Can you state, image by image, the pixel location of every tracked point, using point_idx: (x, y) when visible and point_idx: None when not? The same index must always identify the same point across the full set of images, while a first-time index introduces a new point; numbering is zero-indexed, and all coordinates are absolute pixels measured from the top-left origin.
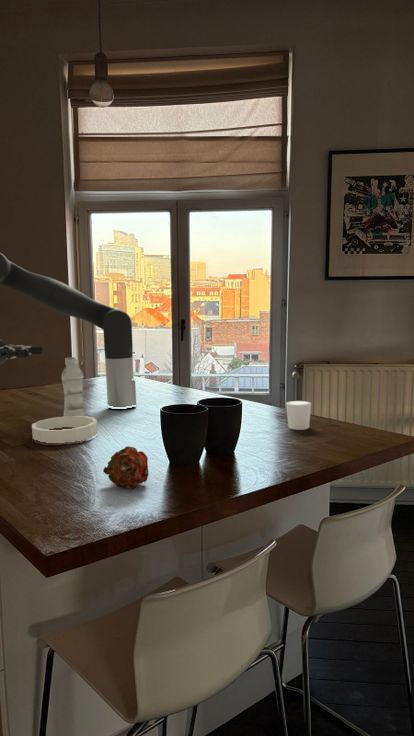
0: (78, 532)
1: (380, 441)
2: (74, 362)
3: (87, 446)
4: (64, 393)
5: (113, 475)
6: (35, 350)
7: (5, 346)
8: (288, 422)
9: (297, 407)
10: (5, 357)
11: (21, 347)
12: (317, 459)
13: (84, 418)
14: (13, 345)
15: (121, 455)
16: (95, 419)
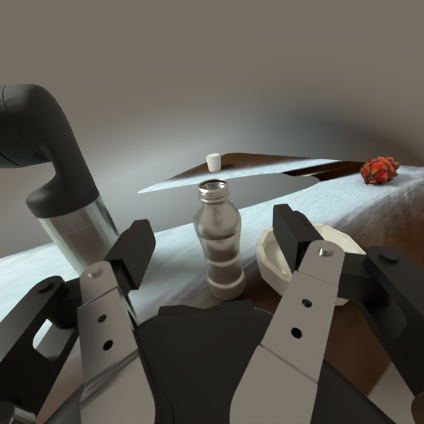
0: None
1: (236, 155)
2: (221, 187)
3: None
4: (234, 256)
5: (392, 174)
6: (141, 254)
7: (315, 381)
8: (216, 167)
9: (220, 155)
10: (400, 310)
11: (127, 310)
12: (273, 158)
13: (262, 244)
14: (143, 362)
15: (393, 158)
16: (270, 227)
